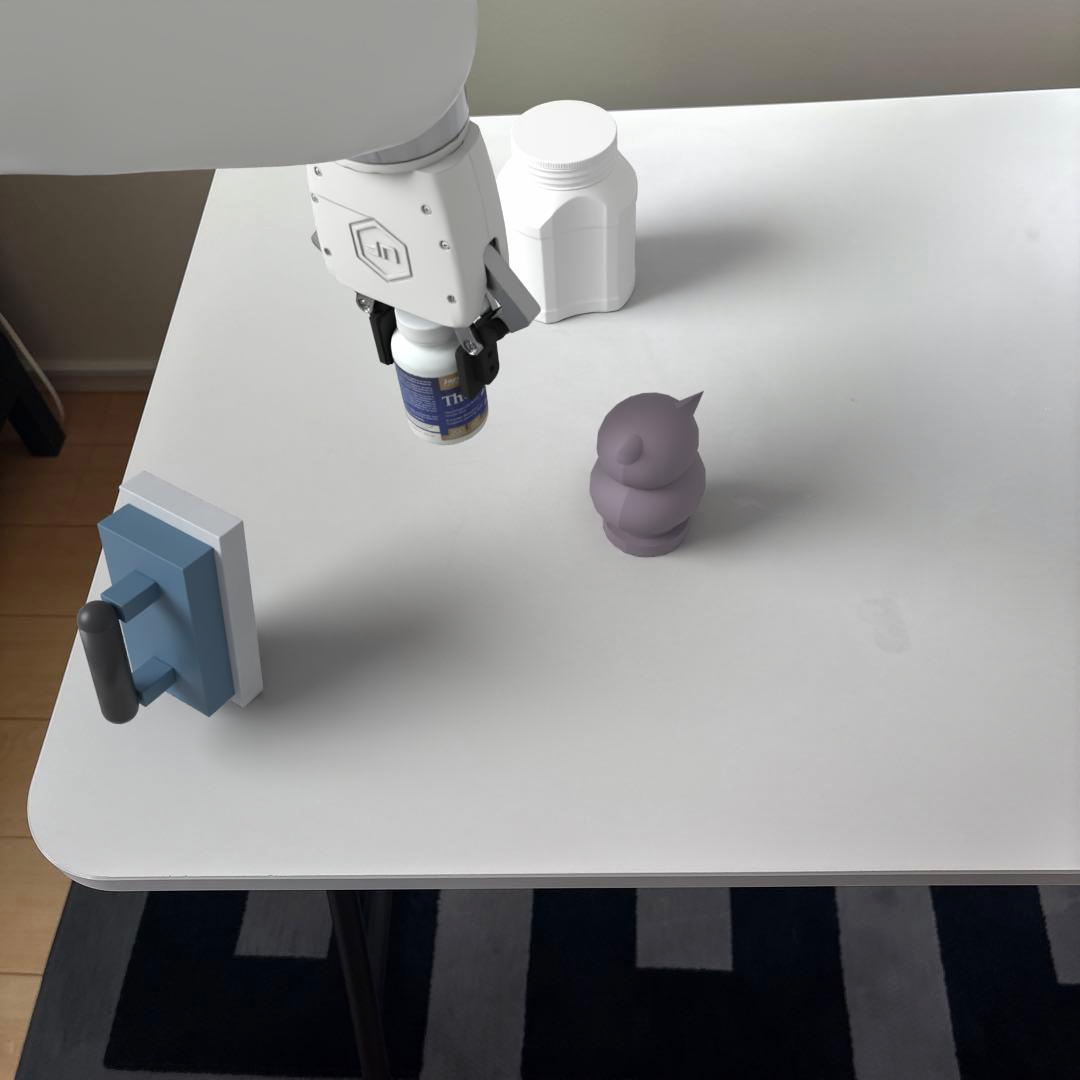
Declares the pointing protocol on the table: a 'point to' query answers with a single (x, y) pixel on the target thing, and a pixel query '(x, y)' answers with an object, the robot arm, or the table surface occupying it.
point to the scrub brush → (171, 605)
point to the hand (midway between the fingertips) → (439, 364)
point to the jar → (570, 210)
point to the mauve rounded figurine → (648, 472)
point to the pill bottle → (434, 382)
